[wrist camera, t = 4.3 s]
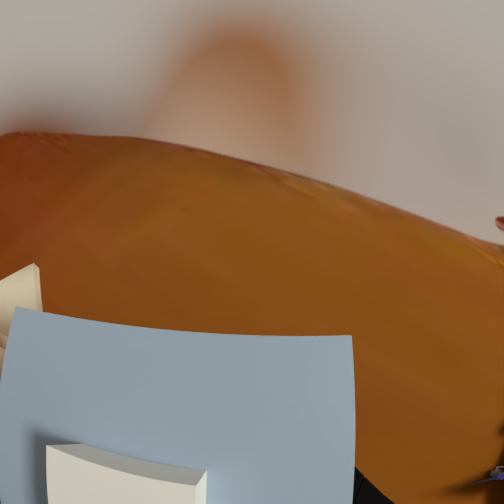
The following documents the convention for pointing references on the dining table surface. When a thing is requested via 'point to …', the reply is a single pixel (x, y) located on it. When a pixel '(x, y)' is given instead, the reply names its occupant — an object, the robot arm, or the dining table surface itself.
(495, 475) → the toy airplane
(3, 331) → the jig
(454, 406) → the dining table surface
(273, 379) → the blue-grey rectangular block
